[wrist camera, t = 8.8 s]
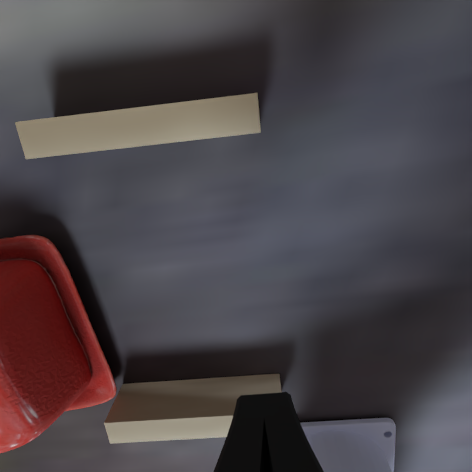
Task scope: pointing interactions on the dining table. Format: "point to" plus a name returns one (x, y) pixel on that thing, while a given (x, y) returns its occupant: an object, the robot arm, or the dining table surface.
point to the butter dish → (44, 343)
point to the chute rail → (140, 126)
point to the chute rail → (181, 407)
